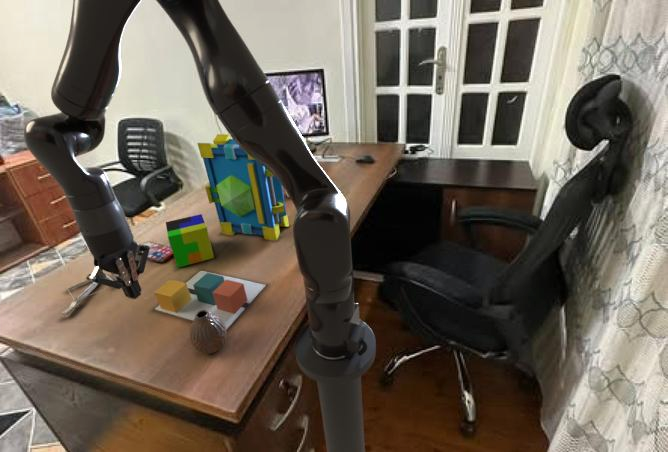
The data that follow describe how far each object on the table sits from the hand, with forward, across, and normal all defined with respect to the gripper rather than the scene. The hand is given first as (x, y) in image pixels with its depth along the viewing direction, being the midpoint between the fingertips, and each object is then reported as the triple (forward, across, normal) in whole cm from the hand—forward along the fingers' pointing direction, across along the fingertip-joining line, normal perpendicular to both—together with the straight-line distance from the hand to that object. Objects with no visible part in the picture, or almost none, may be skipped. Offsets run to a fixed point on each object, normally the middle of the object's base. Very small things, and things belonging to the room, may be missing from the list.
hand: (135, 296), depth 73 cm
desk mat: (+9, +13, -7) cm, 17 cm away
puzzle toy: (+9, +27, +12) cm, 31 cm away
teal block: (+9, +13, -7) cm, 17 cm away
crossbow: (+10, +3, +26) cm, 28 cm away
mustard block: (+9, +8, 0) cm, 12 cm away
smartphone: (+9, +24, +25) cm, 36 cm away
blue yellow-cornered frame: (+9, +45, +2) cm, 46 cm away
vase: (+9, +1, -17) cm, 20 cm away
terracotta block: (+9, +12, -14) cm, 20 cm away
